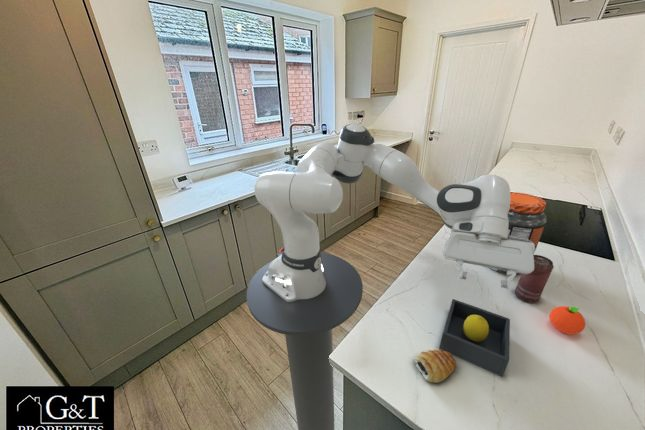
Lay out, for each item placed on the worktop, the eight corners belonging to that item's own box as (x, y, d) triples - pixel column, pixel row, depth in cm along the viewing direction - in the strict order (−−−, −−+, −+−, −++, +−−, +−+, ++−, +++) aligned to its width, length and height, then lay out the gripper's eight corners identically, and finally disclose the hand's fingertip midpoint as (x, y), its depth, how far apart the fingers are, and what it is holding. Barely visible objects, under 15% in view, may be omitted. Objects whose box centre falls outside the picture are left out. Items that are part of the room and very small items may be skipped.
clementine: (555, 314, 75) (565, 295, 72) (586, 331, 69) (598, 312, 66) (540, 325, 72) (549, 305, 69) (571, 344, 66) (582, 324, 63)
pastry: (442, 349, 66) (445, 339, 65) (463, 374, 61) (466, 363, 59) (411, 361, 64) (413, 351, 62) (430, 388, 58) (432, 378, 56)
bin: (439, 348, 67) (442, 333, 64) (449, 313, 77) (452, 298, 74) (502, 376, 60) (509, 360, 57) (504, 333, 70) (510, 318, 67)
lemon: (480, 332, 70) (488, 310, 66) (487, 350, 65) (495, 328, 61) (458, 328, 71) (464, 306, 67) (463, 346, 66) (470, 324, 63)
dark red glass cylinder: (508, 292, 83) (522, 256, 77) (523, 287, 85) (538, 252, 79) (527, 306, 78) (543, 268, 72) (543, 300, 80) (560, 263, 73)
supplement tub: (484, 246, 107) (502, 186, 95) (531, 262, 97) (557, 197, 85) (470, 263, 97) (488, 199, 86) (521, 283, 87) (548, 213, 75)
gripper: (530, 242, 69) (527, 294, 66) (445, 229, 77) (439, 275, 73) (540, 235, 64) (538, 293, 60) (448, 222, 71) (441, 272, 67)
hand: (483, 283), depth 67 cm, fingers open, 8 cm apart
